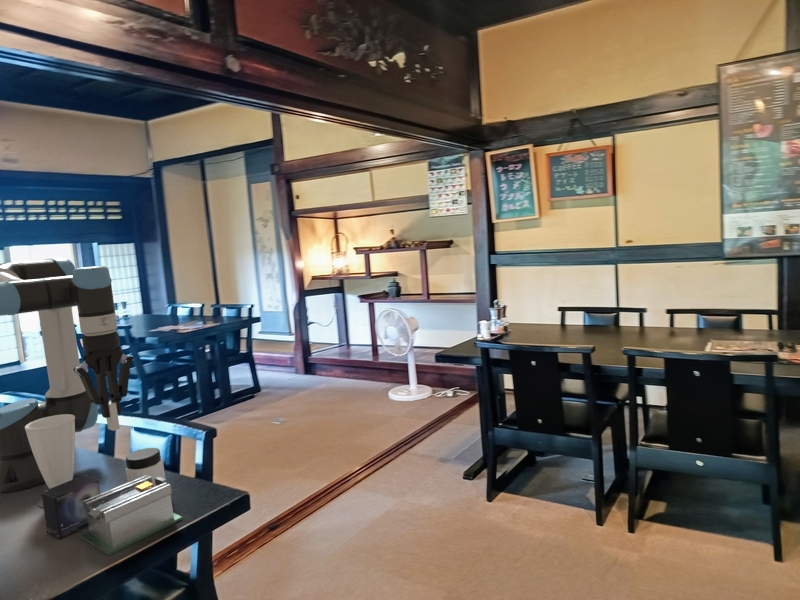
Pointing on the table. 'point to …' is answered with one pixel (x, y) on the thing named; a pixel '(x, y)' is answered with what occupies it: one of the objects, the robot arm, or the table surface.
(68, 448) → the cup
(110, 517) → the heatsink
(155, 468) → the jar
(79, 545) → the table surface
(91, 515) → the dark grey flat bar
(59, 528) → the small box
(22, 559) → the table surface
